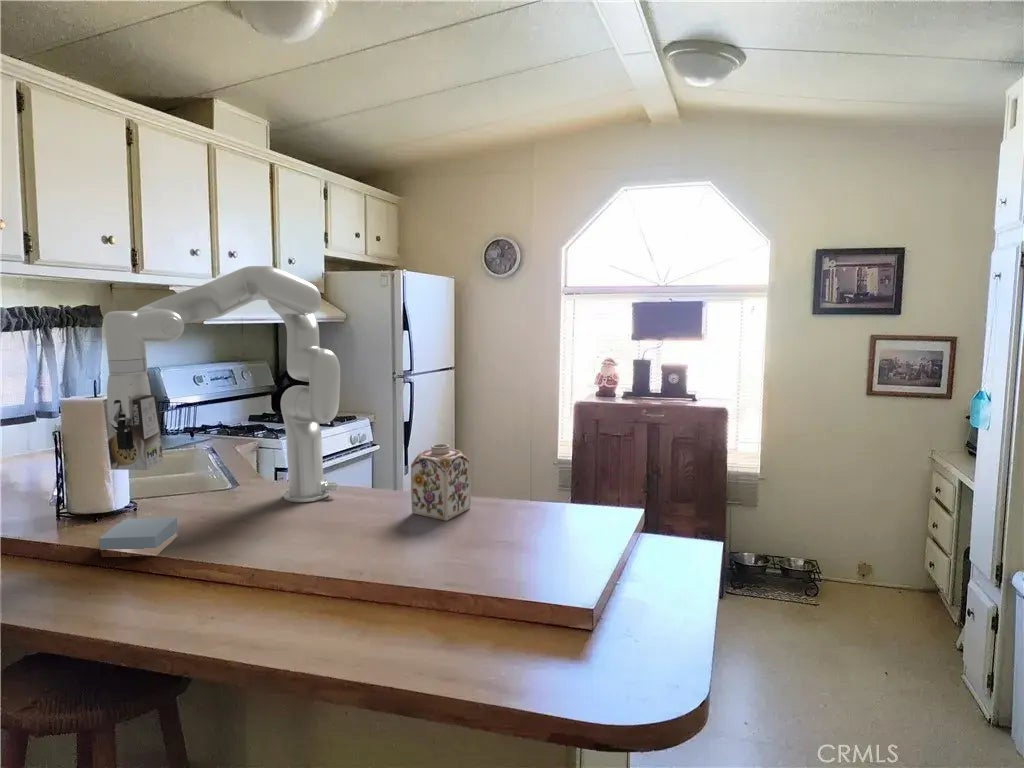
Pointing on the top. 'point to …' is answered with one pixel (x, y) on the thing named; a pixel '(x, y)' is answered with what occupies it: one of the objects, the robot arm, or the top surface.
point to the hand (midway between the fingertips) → (135, 444)
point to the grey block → (139, 533)
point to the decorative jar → (440, 483)
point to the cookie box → (137, 437)
